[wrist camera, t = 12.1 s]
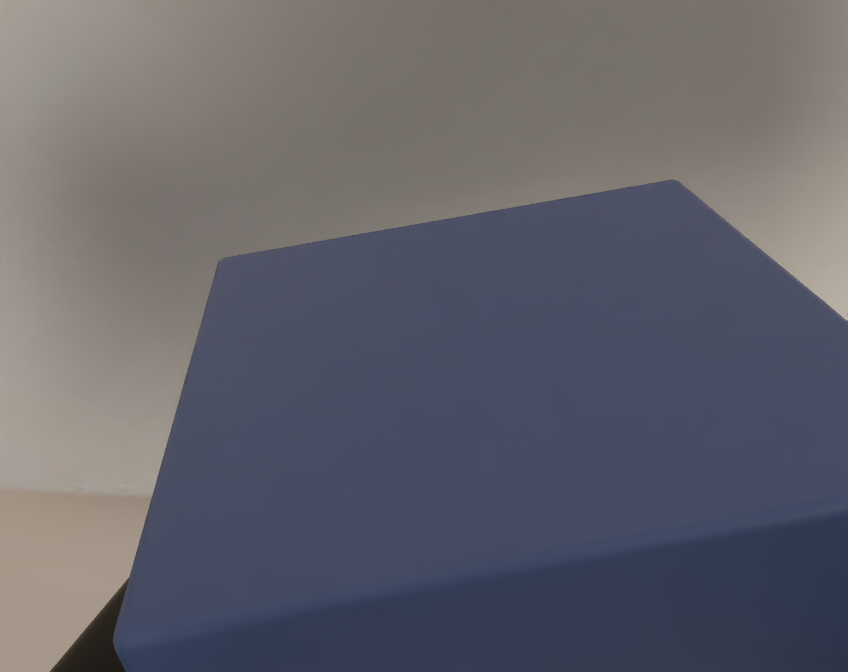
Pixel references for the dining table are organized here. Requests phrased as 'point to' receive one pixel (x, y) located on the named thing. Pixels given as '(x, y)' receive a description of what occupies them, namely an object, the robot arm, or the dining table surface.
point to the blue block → (505, 455)
